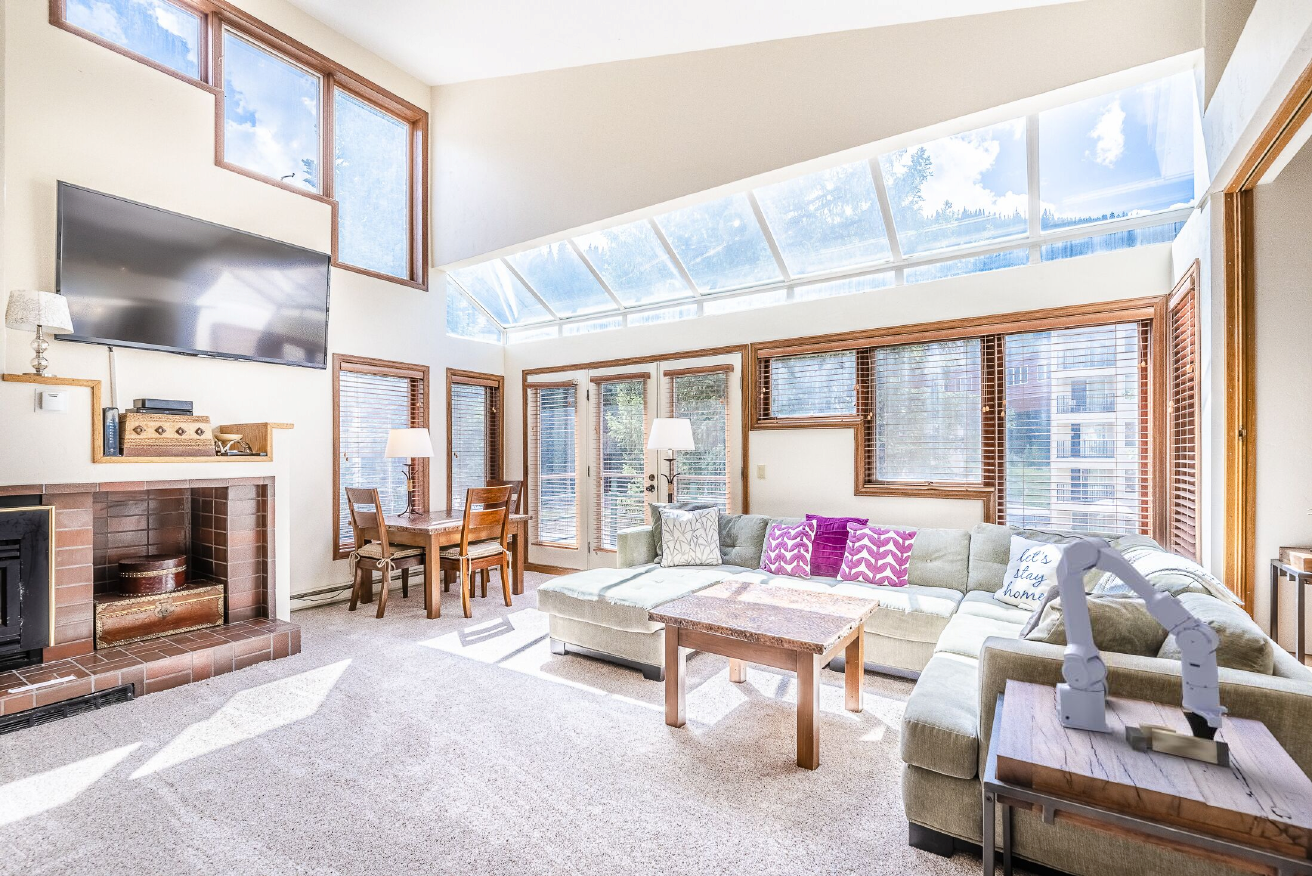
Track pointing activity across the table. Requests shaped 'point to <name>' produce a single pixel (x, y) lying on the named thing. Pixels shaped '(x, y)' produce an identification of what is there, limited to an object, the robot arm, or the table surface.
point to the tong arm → (1191, 747)
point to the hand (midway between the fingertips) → (1204, 750)
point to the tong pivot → (1143, 735)
